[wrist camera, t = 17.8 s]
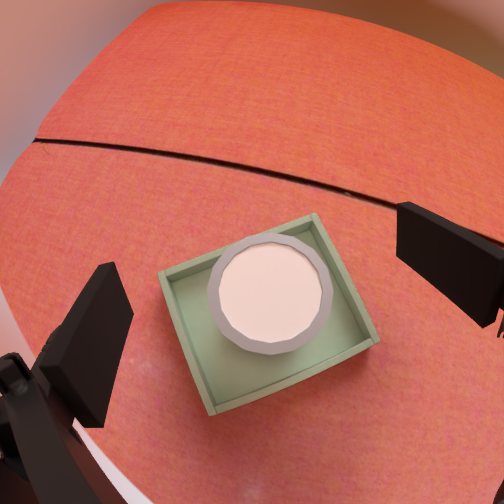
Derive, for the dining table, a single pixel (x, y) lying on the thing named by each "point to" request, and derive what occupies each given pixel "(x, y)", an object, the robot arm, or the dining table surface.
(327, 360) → the green tray
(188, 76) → the dining table surface
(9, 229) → the dining table surface
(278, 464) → the dining table surface
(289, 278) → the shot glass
